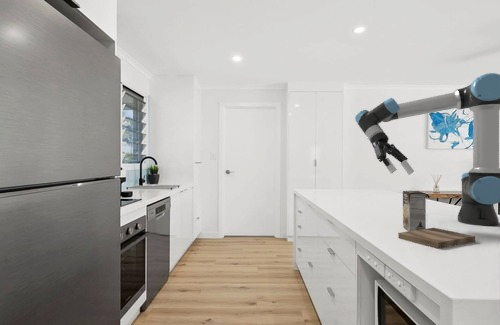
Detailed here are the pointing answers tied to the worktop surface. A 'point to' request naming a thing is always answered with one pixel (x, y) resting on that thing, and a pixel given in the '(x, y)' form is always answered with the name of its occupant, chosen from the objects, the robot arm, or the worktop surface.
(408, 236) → the walnut board
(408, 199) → the coffee box
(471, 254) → the worktop surface
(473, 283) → the worktop surface
